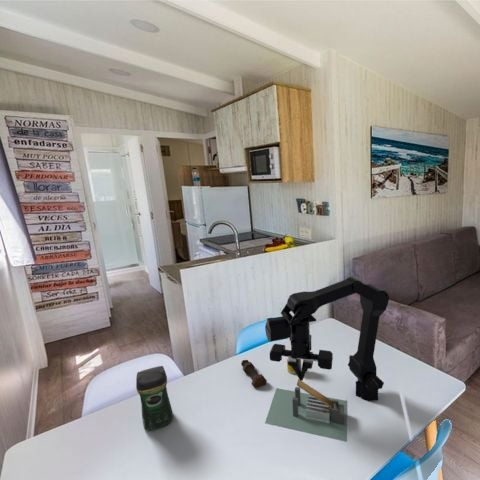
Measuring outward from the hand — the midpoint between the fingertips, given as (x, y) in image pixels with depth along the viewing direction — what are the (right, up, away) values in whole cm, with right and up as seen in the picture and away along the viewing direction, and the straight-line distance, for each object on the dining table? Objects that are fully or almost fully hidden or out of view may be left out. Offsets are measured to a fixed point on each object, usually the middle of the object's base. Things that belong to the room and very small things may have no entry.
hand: (301, 379), depth 92 cm
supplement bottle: (+2, -8, +22) cm, 24 cm away
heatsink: (+5, -11, 0) cm, 12 cm away
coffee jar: (-47, -16, +4) cm, 49 cm away
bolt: (-15, -10, +22) cm, 28 cm away
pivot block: (+10, -11, -1) cm, 15 cm away
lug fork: (-1, -11, +3) cm, 11 cm away
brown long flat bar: (+4, -5, -1) cm, 6 cm away
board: (+2, -12, +2) cm, 12 cm away
